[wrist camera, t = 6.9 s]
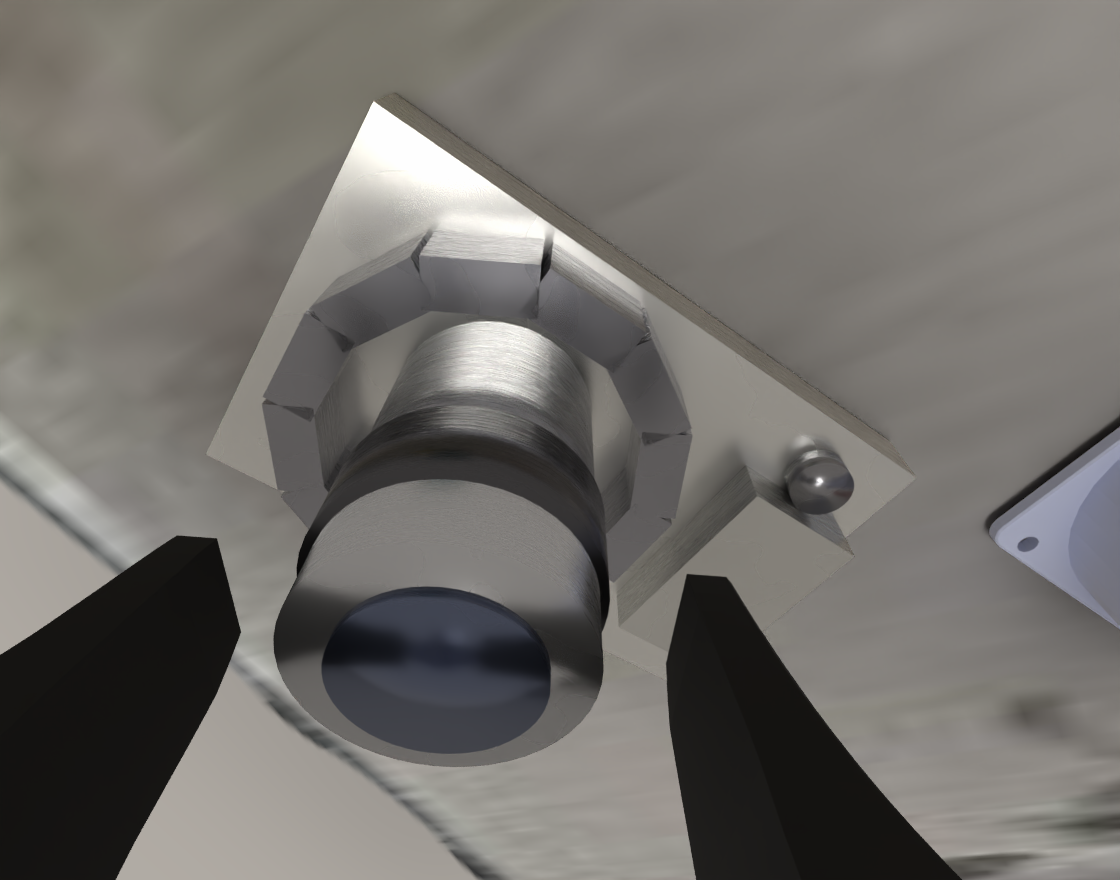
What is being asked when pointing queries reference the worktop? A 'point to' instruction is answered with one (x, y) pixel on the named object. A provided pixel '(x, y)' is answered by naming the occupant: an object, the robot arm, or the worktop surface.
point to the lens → (458, 561)
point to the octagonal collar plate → (597, 351)
